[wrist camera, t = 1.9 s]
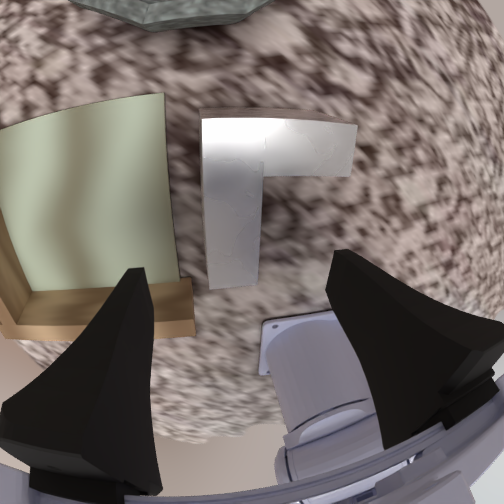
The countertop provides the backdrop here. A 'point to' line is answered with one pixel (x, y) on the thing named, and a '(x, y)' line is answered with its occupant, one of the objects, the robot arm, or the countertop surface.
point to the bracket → (258, 175)
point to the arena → (87, 219)
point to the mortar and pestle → (174, 12)
